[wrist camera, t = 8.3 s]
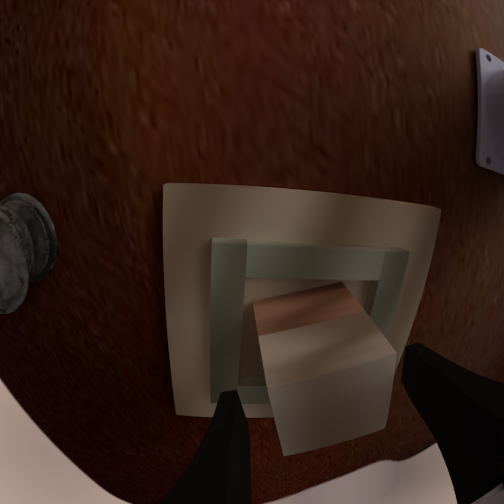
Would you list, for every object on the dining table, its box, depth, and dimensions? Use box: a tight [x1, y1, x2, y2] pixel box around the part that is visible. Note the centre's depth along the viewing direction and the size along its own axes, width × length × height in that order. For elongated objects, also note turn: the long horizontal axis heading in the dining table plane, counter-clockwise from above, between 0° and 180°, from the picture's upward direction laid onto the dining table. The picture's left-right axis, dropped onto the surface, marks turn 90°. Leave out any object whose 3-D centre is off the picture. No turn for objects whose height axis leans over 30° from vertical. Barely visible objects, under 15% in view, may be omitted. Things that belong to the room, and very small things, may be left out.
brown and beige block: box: [253, 281, 397, 456], centre depth 13 cm, size 4×4×6 cm
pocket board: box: [163, 183, 441, 418], centre depth 16 cm, size 14×14×2 cm
